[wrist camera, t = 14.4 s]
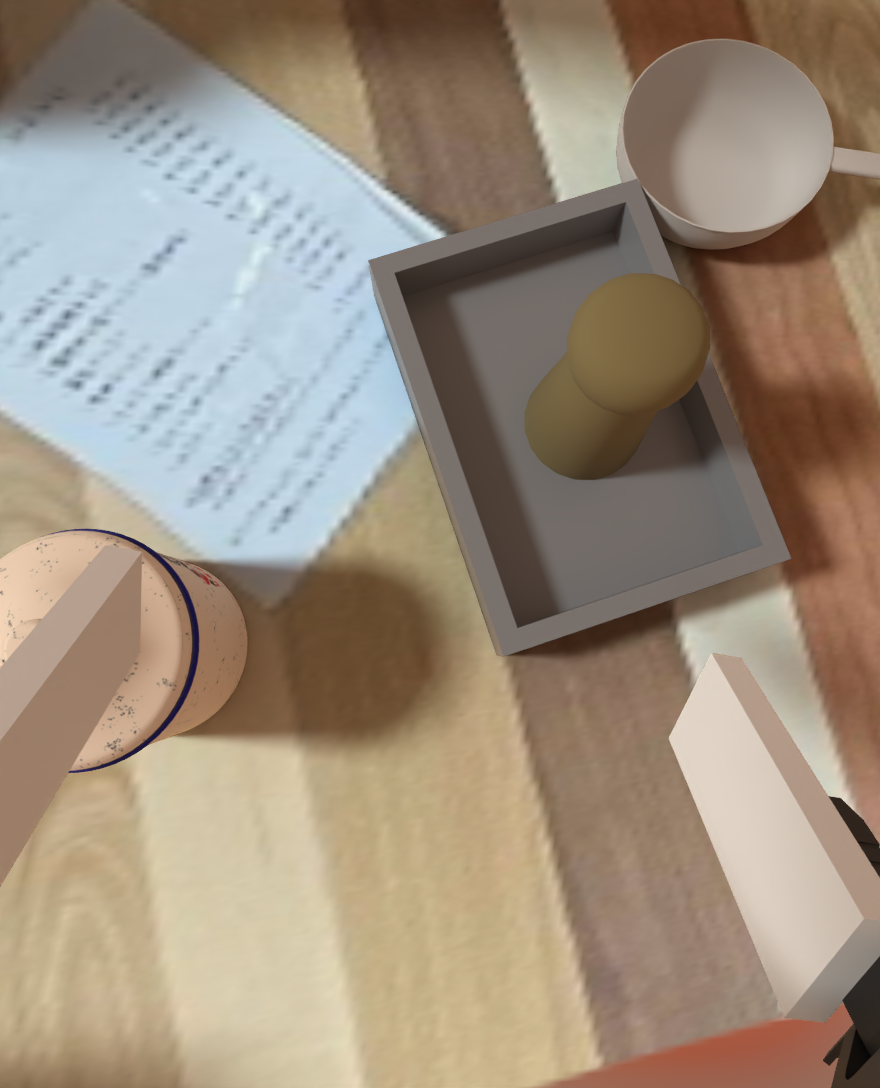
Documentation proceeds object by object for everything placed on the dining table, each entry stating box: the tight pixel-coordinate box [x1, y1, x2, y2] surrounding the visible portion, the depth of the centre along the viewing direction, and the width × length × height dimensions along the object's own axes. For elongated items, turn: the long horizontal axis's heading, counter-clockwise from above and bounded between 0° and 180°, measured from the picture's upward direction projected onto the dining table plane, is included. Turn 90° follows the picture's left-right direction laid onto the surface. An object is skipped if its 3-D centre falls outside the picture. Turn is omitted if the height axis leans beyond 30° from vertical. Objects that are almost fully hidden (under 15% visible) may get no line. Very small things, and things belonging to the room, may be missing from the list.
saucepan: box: [616, 39, 880, 250], centre depth 37 cm, size 11×18×4 cm, turn 78°
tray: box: [368, 179, 791, 657], centre depth 35 cm, size 20×14×4 cm
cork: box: [525, 273, 710, 480], centre depth 30 cm, size 6×6×11 cm
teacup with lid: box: [0, 529, 248, 773], centre depth 29 cm, size 12×9×12 cm
